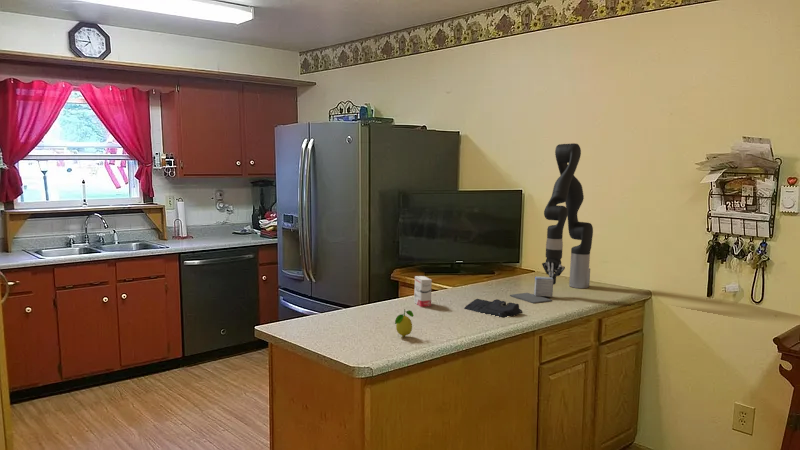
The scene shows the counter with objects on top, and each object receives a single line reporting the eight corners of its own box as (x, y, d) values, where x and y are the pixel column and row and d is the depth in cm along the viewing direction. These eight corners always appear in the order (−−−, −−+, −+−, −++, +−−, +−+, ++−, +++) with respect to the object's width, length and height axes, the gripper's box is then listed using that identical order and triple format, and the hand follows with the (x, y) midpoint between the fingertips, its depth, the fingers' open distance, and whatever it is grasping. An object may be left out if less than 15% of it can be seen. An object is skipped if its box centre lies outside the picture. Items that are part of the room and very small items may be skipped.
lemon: (413, 334, 204) (413, 306, 203) (414, 339, 199) (414, 311, 198) (394, 334, 204) (395, 306, 203) (394, 339, 198) (395, 310, 197)
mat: (527, 293, 275) (527, 292, 275) (551, 301, 261) (551, 299, 261) (509, 295, 269) (509, 294, 269) (533, 303, 256) (533, 302, 256)
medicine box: (550, 295, 271) (551, 276, 270) (552, 297, 267) (553, 278, 266) (533, 294, 272) (534, 276, 271) (535, 296, 267) (536, 277, 266)
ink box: (431, 306, 246) (432, 279, 244) (420, 307, 244) (421, 279, 243) (423, 301, 254) (424, 275, 252) (413, 302, 252) (414, 276, 251)
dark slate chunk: (481, 303, 255) (482, 293, 254) (525, 313, 240) (526, 302, 240) (460, 309, 244) (461, 298, 243) (505, 319, 229) (506, 308, 228)
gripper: (570, 249, 266) (568, 286, 268) (549, 245, 277) (548, 280, 279) (558, 250, 262) (557, 287, 264) (538, 246, 273) (536, 282, 275)
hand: (552, 284), depth 271 cm, fingers closed
